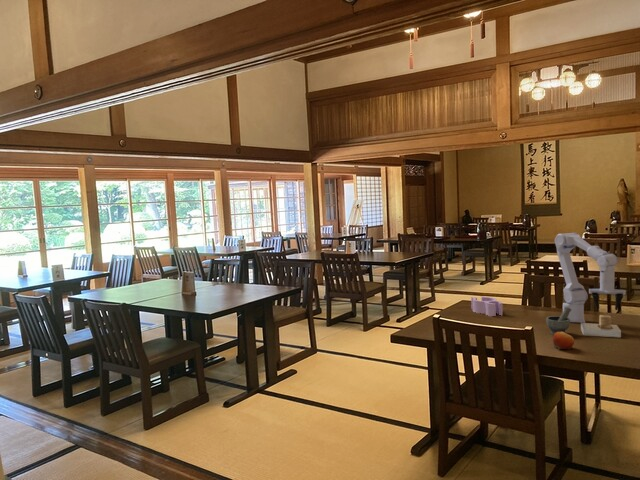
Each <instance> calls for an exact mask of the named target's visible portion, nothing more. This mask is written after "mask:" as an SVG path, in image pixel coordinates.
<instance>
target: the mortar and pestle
mask: <svg viewBox="0 0 640 480" xmlns="http://www.w3.org/2000/svg"><path fill="white" fill-rule="evenodd" d="M570 311H571V309H570V308H568V307H565V310H564V311H563V310H562V313H561V314H560V315H559V316H557V315H553V316H552V315H550V316H547V317H546V318H545V323H546V326H547V327H548V328H549V329H550V334H551V335H554V334H555V333H556V332H564V333H566V331H567V330H568V329H569V327H570V324H571V322H570V319H569V318H567V317H568V315H569V313H570Z"/></svg>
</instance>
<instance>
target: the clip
mask: <svg viewBox="0 0 640 480" xmlns="http://www.w3.org/2000/svg"><path fill="white" fill-rule="evenodd" d="M470 300H471V301H470V302H471V305H470V306H471V310H472V312H473V313H475V312H476V313H475V314H480V313H481V314H482V315H486V316H487V315H488V317H492V316H496V313H497V315H498V316H499V315H501V316H500V317H503V301H500V300H497V298H495V297H490V296H483V295H482V296H481V300H479V299H478V297H474V296H472V297H471V298H470Z"/></svg>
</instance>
